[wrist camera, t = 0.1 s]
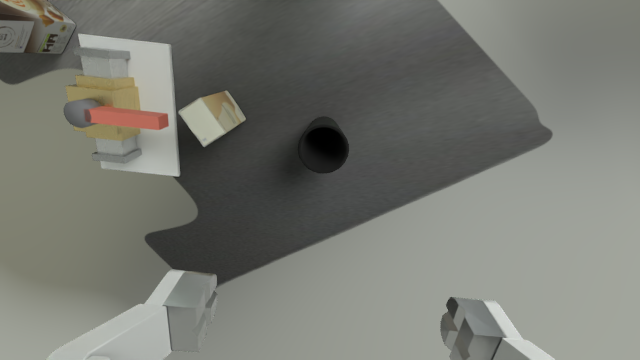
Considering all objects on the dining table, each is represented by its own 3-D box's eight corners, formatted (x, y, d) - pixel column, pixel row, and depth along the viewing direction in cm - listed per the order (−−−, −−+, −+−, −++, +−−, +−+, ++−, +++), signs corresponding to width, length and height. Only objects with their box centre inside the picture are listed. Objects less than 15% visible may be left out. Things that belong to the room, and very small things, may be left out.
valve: (94, 46, 52) (57, 45, 45) (135, 51, 52) (105, 51, 45) (110, 150, 59) (80, 163, 52) (147, 154, 59) (122, 167, 52)
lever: (76, 96, 47) (61, 99, 45) (167, 107, 48) (157, 110, 45) (81, 122, 49) (66, 126, 46) (169, 132, 49) (159, 136, 46)
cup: (297, 118, 56) (290, 134, 45) (336, 104, 55) (339, 117, 44) (311, 156, 59) (308, 179, 48) (349, 143, 58) (355, 164, 47)
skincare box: (247, 119, 56) (227, 135, 45) (228, 130, 57) (204, 149, 46) (226, 87, 54) (200, 96, 43) (207, 100, 55) (176, 112, 44)
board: (81, 33, 51) (78, 33, 51) (171, 44, 52) (168, 44, 51) (104, 167, 60) (101, 168, 60) (180, 175, 61) (178, 176, 60)
